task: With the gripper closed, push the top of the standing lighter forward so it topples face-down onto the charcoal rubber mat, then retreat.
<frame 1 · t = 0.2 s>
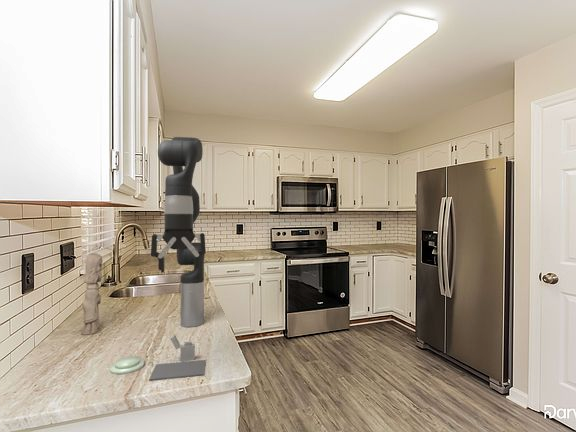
hand: (179, 271, 88), 28 cm above the worktop, fingers open, 8 cm apart
lighter: (182, 360, 96), on the worktop
sculpture: (91, 332, 122), on the worktop
mat: (179, 370, 90), on the worktop
dish: (127, 366, 92), on the worktop
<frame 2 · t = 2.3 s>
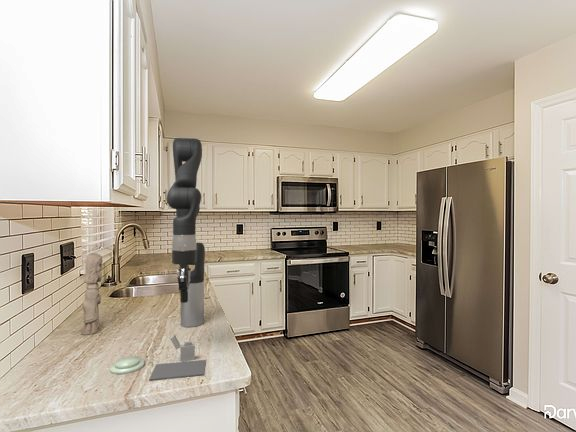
hand: (184, 302, 103), 16 cm above the worktop, fingers closed
nothing on the worktop moved.
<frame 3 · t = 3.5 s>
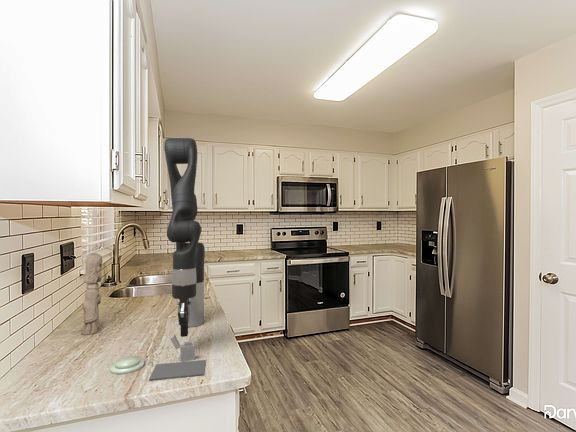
hand: (184, 335, 103), 5 cm above the worktop, fingers closed
nothing on the worktop moved.
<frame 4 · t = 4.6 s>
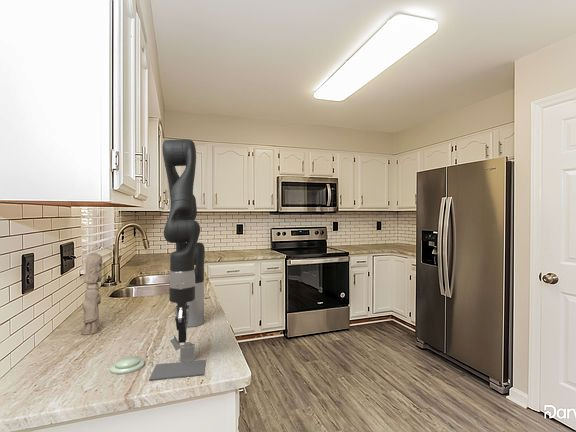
hand: (182, 341, 97), 5 cm above the worktop, fingers closed
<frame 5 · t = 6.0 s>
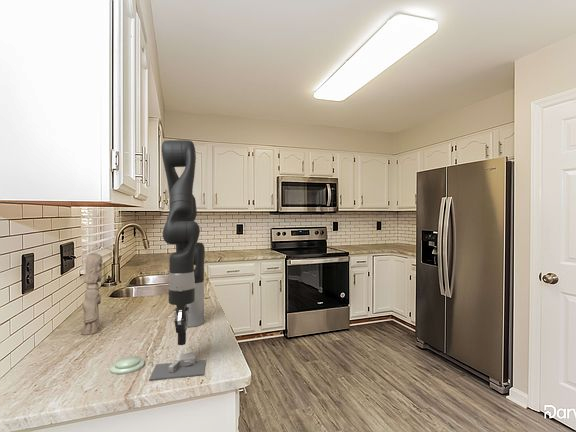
hand: (181, 344, 96), 5 cm above the worktop, fingers closed
lighter: (182, 356, 96), point 1 cm above the worktop, touching mat
everything else where it was.
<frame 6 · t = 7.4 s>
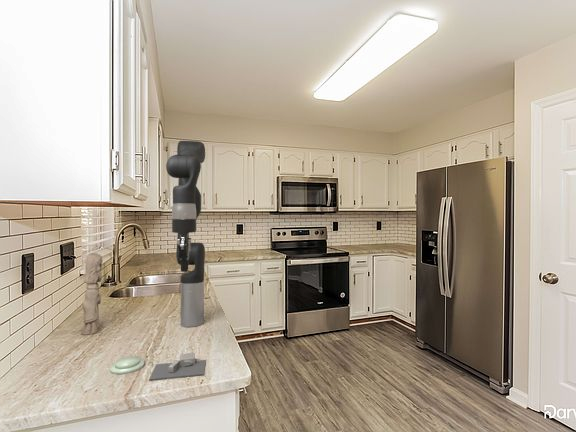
hand: (184, 271, 103), 26 cm above the worktop, fingers closed
nothing on the worktop moved.
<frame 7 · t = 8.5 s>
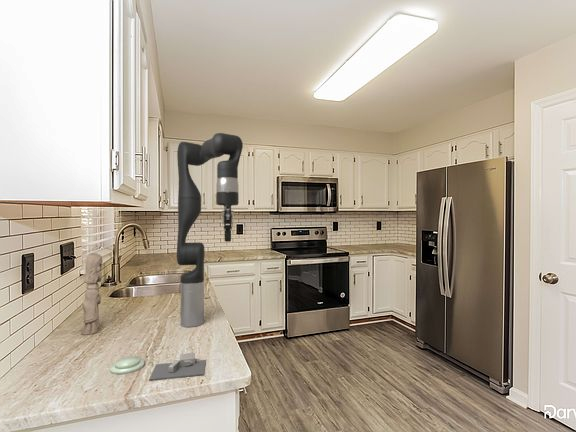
hand: (227, 241, 110), 35 cm above the worktop, fingers closed
nothing on the worktop moved.
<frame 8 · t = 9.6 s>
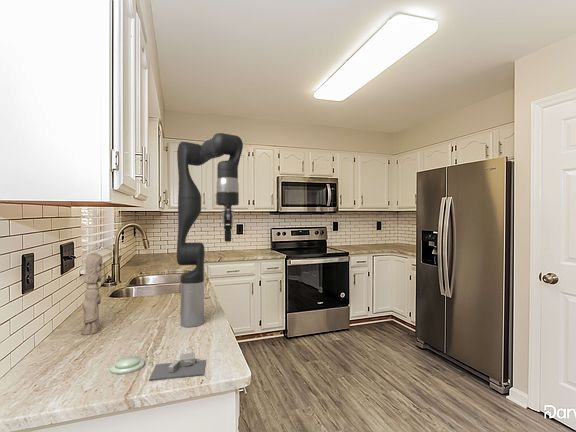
hand: (227, 241, 110), 35 cm above the worktop, fingers closed
nothing on the worktop moved.
at the end: lighter tilted 90°; lighter inside the target area (5.6 cm from its centre), point 1.3 cm above the worktop; lighter touching mat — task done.
